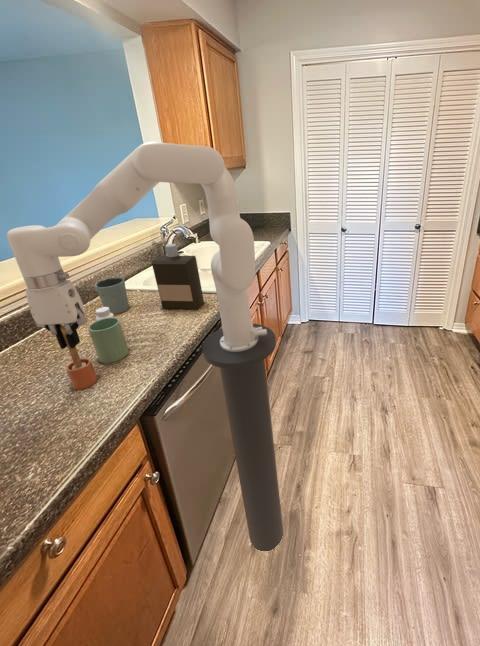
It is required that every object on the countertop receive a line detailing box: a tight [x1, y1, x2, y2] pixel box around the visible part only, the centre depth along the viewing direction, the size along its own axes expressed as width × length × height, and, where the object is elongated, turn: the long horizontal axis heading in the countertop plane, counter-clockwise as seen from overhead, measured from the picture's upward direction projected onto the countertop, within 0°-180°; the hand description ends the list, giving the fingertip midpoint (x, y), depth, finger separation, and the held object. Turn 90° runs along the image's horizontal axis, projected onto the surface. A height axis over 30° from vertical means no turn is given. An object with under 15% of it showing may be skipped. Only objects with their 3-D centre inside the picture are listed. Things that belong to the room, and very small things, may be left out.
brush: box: [60, 325, 86, 370], centre depth 84 cm, size 3×3×17 cm
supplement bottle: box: [95, 306, 115, 321], centre depth 109 cm, size 5×5×10 cm
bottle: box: [150, 243, 205, 310], centre depth 125 cm, size 8×16×25 cm, turn 82°
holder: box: [65, 357, 98, 390], centre depth 87 cm, size 6×6×6 cm
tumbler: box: [87, 316, 130, 364], centre depth 97 cm, size 8×8×11 cm
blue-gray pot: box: [94, 276, 130, 315], centre depth 127 cm, size 10×10×12 cm
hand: (70, 345), depth 83 cm, fingers closed on brush
